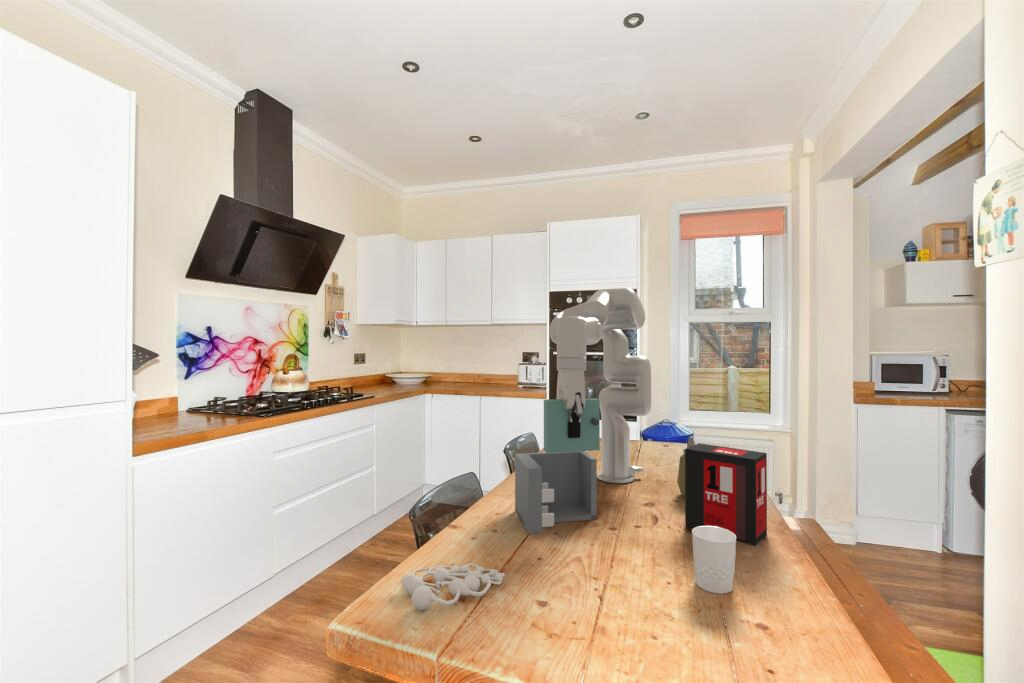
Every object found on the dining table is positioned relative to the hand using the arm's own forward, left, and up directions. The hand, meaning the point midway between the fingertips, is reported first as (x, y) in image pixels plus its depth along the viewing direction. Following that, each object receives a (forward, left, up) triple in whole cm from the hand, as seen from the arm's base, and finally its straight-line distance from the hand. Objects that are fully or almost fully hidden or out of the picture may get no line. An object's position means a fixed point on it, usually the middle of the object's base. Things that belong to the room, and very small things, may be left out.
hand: (571, 435), depth 122 cm
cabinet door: (0, 0, -4) cm, 4 cm away
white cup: (-17, +34, -23) cm, 45 cm away
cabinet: (+2, -5, -23) cm, 24 cm away
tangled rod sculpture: (+33, +25, -24) cm, 48 cm away
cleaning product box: (-36, +11, -23) cm, 45 cm away
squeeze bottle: (-43, -15, -23) cm, 51 cm away
